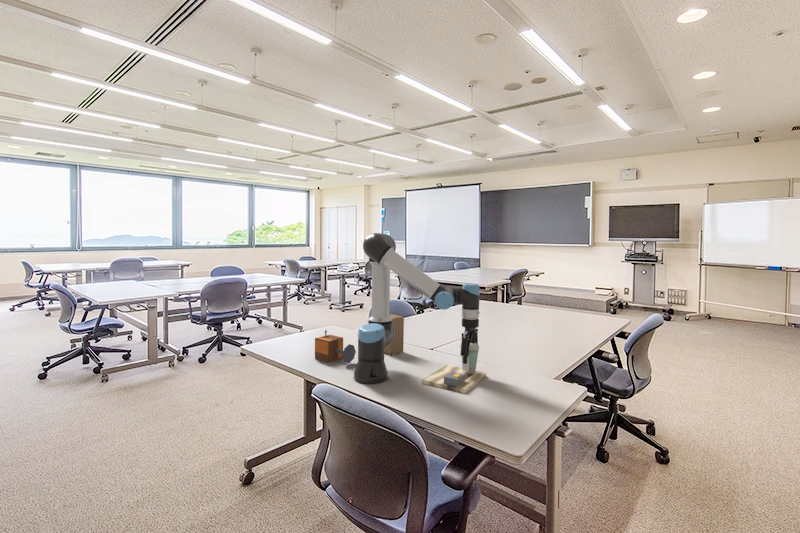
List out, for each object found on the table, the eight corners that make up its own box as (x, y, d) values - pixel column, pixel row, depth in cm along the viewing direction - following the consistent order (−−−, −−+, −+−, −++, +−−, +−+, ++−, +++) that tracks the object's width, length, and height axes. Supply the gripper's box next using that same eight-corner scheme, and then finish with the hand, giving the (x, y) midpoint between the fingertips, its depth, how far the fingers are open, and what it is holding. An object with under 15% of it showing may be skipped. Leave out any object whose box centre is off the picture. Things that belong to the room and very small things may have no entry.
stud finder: (443, 383, 163) (443, 375, 163) (451, 378, 170) (451, 370, 170) (456, 386, 160) (457, 378, 160) (464, 381, 167) (464, 373, 166)
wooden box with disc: (341, 366, 189) (341, 337, 188) (314, 358, 201) (314, 331, 200) (356, 361, 197) (357, 334, 196) (330, 354, 209) (330, 328, 209)
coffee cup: (482, 369, 176) (483, 343, 175) (472, 373, 170) (472, 346, 169) (466, 365, 182) (467, 340, 181) (455, 369, 176) (456, 343, 175)
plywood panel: (421, 383, 167) (421, 379, 167) (446, 368, 189) (446, 364, 189) (464, 393, 157) (464, 389, 157) (486, 376, 178) (486, 372, 178)
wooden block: (391, 348, 223) (392, 313, 222) (403, 352, 216) (404, 316, 214) (378, 351, 216) (378, 315, 215) (390, 355, 209) (390, 318, 208)
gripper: (469, 322, 164) (468, 375, 165) (486, 315, 181) (484, 363, 183) (453, 320, 168) (452, 372, 169) (471, 313, 185) (469, 360, 187)
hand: (469, 367), depth 176 cm, fingers closed on coffee cup, 8 cm apart
